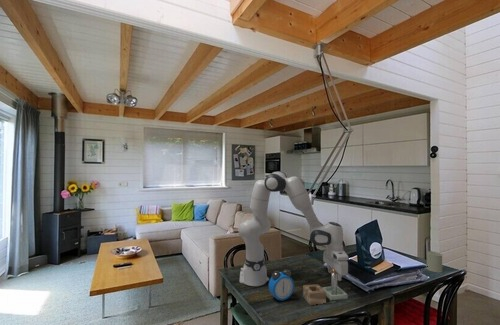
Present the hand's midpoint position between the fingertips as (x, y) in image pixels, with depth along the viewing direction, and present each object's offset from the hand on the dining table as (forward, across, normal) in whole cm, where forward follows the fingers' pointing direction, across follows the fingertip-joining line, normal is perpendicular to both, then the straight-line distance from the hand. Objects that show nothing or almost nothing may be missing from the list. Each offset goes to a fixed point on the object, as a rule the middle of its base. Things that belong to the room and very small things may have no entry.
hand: (334, 276), depth 141 cm
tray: (+11, 0, 0) cm, 11 cm away
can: (+11, -18, +88) cm, 91 cm away
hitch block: (+11, +2, -14) cm, 17 cm away
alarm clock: (+11, -2, -30) cm, 32 cm away
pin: (+10, 0, 0) cm, 10 cm away
